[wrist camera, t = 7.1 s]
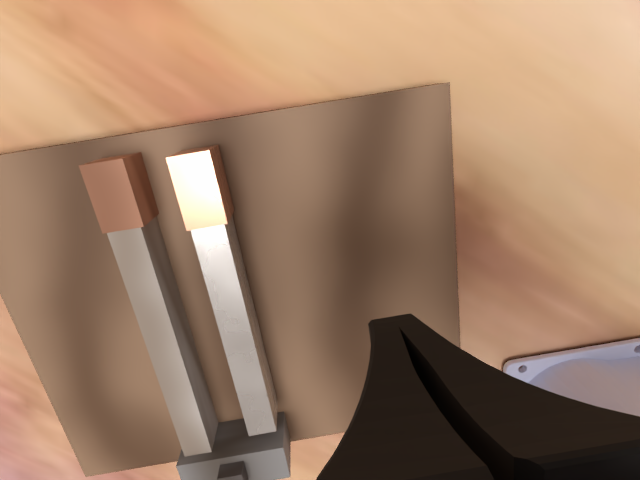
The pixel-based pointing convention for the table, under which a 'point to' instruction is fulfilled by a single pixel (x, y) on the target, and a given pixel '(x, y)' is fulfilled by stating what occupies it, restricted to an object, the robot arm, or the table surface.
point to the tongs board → (260, 264)
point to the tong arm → (225, 279)
